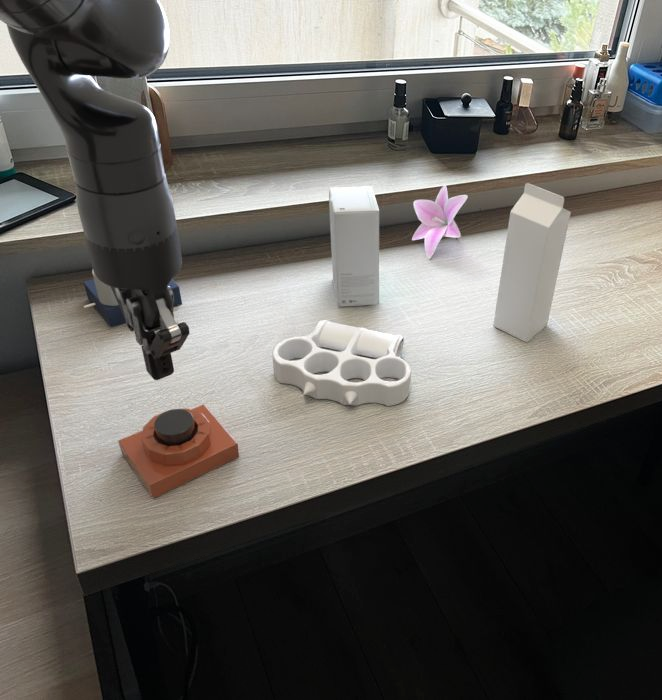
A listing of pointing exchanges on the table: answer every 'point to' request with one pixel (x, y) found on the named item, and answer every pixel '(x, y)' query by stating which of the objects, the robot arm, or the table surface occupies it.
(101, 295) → the dial
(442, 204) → the lily
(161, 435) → the dark grey short cylinder
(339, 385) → the white brass knuckles
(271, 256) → the table surface
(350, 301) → the cosmetic box
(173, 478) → the button base
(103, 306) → the dial panel
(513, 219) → the milk
